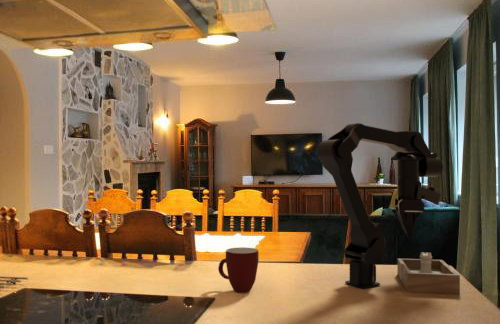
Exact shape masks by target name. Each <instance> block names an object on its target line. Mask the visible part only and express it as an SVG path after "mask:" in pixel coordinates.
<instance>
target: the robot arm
mask: <svg viewBox="0 0 500 324" xmlns="http://www.w3.org/2000/svg"><path fill="white" fill-rule="evenodd" d="M362 141H363V142H367V143H373V144H377V145H383V146H386V147H388V148H389V149H390V150H392V151H394V152H396V153H395V154H394V155H393V156H392V157H391V158H390V160H391V161H394V162H395V161H396V164H397V167H396V169H397V170H396V171H397V173H396V185H397V186H396V187H397V188H396V196H395V197H393V205H394V209H395V211H396V214H397V217H398V219H399V222H400V224H401V227H402V229H403V231H404V233H406V235H407V238H411V237H413V235H414V231H415V226H416V221H417V219H418V217H420V216H421V215H422V214H423V213H424V212H425V202H423V200H425V201H428V202H430V203H432V204H433V205H436V206H439V204H440V201H441V199H442V195H443V194H442V193H440V192H436V187H432V186H430V185H428V186H427V187H423V186H422V182H421V181H420V178H436V177H439V176H440V175H441V174H442V173H443V168H444V164H443V163H442V160H441V159H440V158H439V157H438V153H437V152H431V150H430V149H429V147H428V145H427V143H426V141H425V139H424V138H423V136H422V133H421V132H420V131H417V130H406V131H405V130H403V131H394V130H389V129H386V128H381V127H375V126H370V125H367V124H363V123H360V122H356V123H348V124H346V125H345V126H344V127H343V128H342V129H341V130H340V131H338V132H336V133H334V134H332V136H330V137H329V138H328V139H327V140H322V141H321V142H320V143H319V144H318V146H317V149H316V155H317V158H318V160H319V161H320V163H321V164H322V166H323V168H324V169H325V170H326V171H327V172H328V173H329V174H330V175H331V176H332V178H333V180H334V184H335V186H336V189H337V192H338V194H339V197H340V199H341V202H342V205H343V207H344V209H345V212H346V214H347V217H348V220H349V222H350V225H351V226H350V233H349V236H350V242H349V243H348V245H347V246H346V247H345V249H344V250H343V254H344V258H345V259H346V260H347V259H348V260H349V280H345V282H344V284H347V285H350V286H353V287H358V288H360V289H367V288H372V287H377V286H378V287H379V286H381V283H380V282H377V265H376V264H380V263H381V262H382V258H383V255H384V252H385V247H386V246H387V245H386V240H385V239H386V238H387V236H386V235H385V234H384V231H383V226H382V224H381V223H377V222H373V221H372V220H370V217H369V214H368V211H367V209H366V205H365V203H364V200H363V197H362V195H361V193H360V189H359V187H358V184H357V182H356V179H355V177H354V174H353V172H352V168H353V167H352V166H353V162H354V158H353V157H354V156H353V152H354V151H355V150H356V149H357V148H358V146H359V144H360V142H362Z"/></svg>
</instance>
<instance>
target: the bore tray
mask: <svg viewBox="0 0 500 324" xmlns="http://www.w3.org/2000/svg"><path fill="white" fill-rule="evenodd" d="M420 270H421V258H397V276H398V278H399V280H400V282H401V283H402V284H403V286H404V288H405V289H406V292H408V293H426V294H427V293H431V294H448V295H449V294H450V295H461V291H460V290H461V289H460V288H461V282H460V278H461V277H460V274H459V273H458V272H457V271H456V270H454V269H453V268H452V267H451V266H450V265H449V264H447V263H446V262H445V261H444V260H443V259H431V271H432V273H420Z"/></svg>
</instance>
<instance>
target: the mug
mask: <svg viewBox="0 0 500 324" xmlns="http://www.w3.org/2000/svg"><path fill="white" fill-rule="evenodd" d="M259 254H260V253H259V249H258V248H254V247H245V246H244V247H241V246H240V247H231V248H228V249H226V250H225V258H223V259H221V261H220V262H219V264H218V269H217V270H218V273H219V276H221V277H222V278H223V279H226V280H228V281H229V284H230V286H231V288H232V289H233V292H235V293H239V294H246V293H249V292H250V291H251V290H252V288H253V287H254V284H255V282H256V279H257V272H258V265H259V258H260V257H259ZM224 265H226V271H227V274H226V273H225V272H224Z"/></svg>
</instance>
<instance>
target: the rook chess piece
mask: <svg viewBox="0 0 500 324" xmlns="http://www.w3.org/2000/svg"><path fill="white" fill-rule="evenodd" d="M419 259H421V270H420V273H432V271H431V260H433V256H432V252H424V251H423V252H420V255H419Z"/></svg>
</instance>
